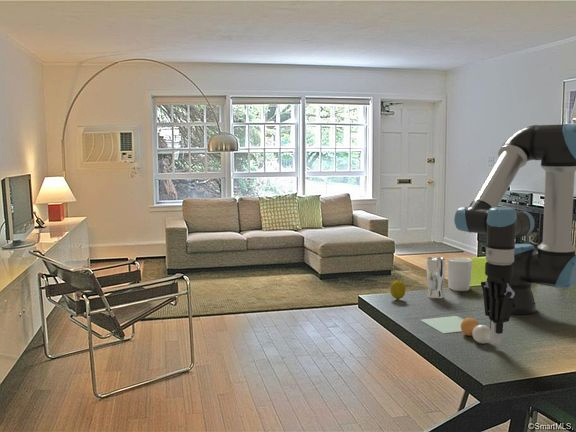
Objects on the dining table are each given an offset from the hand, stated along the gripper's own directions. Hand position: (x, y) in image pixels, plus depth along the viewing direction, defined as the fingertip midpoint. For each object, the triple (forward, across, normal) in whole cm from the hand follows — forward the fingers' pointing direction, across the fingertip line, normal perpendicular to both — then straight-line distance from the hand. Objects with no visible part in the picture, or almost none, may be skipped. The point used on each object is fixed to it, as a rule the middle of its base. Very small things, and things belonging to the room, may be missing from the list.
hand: (495, 342), depth 160 cm
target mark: (+2, -23, 0) cm, 23 cm away
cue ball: (-1, -6, -1) cm, 6 cm away
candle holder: (+2, -62, +30) cm, 69 cm away
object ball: (-1, -12, 0) cm, 12 cm away
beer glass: (+2, -54, +14) cm, 56 cm away
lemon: (+2, -54, -2) cm, 54 cm away
